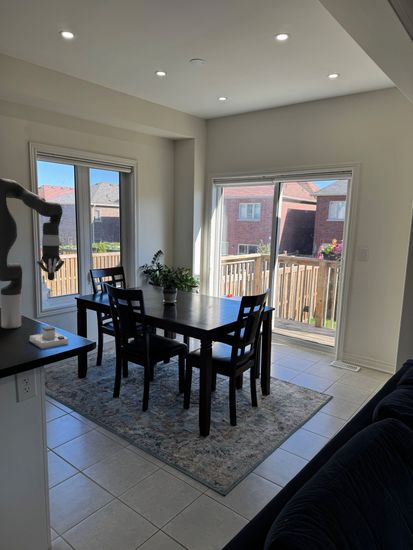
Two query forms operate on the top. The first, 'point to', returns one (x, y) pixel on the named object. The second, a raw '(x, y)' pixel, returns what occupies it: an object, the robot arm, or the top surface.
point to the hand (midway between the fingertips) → (50, 280)
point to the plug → (48, 332)
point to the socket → (48, 340)
